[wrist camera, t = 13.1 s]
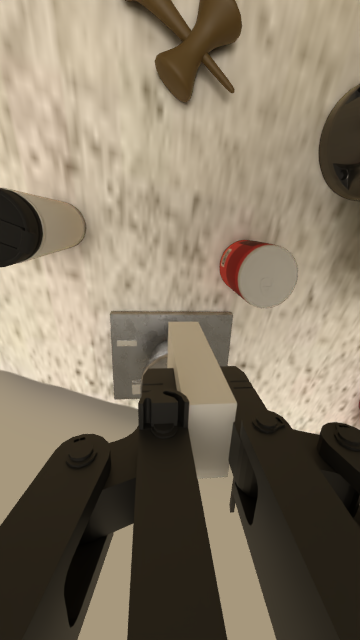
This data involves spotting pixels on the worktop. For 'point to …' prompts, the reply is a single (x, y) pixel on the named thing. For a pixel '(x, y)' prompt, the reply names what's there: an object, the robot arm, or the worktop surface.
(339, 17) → the worktop surface
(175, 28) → the kendama
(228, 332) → the mount plate
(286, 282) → the canned food
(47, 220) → the travel mug
